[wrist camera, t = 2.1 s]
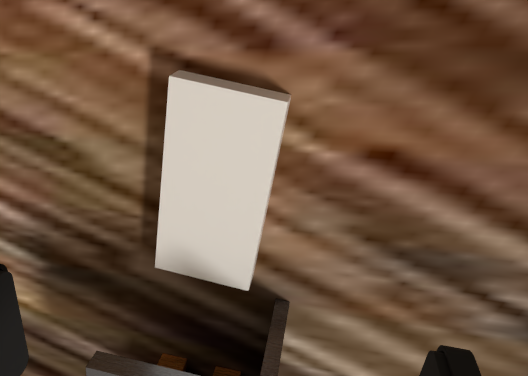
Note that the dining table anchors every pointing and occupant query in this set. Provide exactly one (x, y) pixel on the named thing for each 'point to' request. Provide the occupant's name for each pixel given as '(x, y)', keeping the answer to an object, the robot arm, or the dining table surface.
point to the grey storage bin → (174, 368)
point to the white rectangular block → (217, 176)
